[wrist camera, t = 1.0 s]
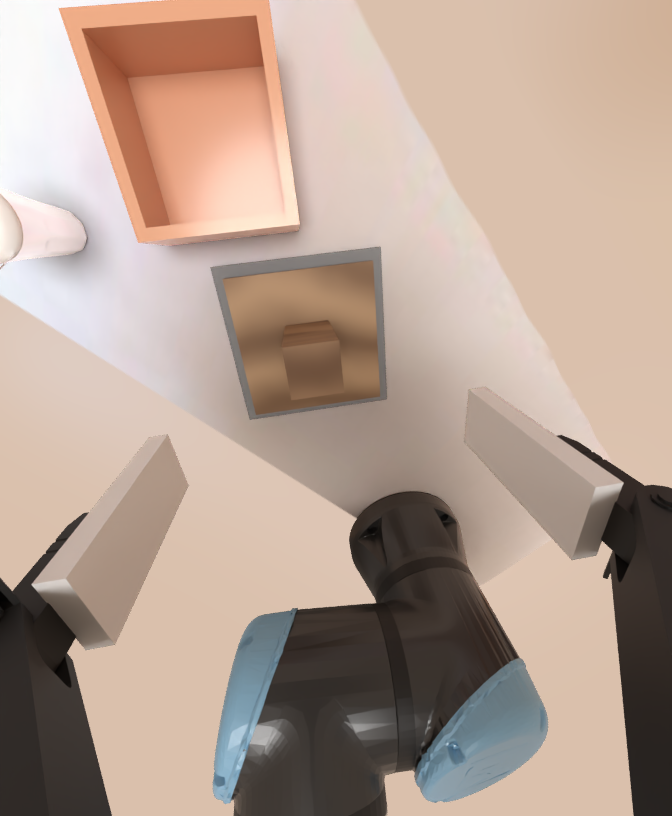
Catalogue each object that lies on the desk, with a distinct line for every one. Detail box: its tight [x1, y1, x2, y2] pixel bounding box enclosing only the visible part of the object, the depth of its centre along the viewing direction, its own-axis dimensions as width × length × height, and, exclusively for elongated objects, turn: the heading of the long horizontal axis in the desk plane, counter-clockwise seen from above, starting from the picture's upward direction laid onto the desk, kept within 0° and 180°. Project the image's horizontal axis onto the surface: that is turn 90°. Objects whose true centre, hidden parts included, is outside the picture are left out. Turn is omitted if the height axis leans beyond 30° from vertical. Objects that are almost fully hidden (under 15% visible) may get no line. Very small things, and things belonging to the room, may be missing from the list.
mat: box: [211, 247, 387, 420], centre depth 31 cm, size 15×15×1 cm
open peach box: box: [59, 0, 300, 246], centre depth 22 cm, size 11×11×6 cm
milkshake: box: [0, 187, 87, 269], centre depth 21 cm, size 4×5×10 cm
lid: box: [222, 260, 380, 415], centre depth 27 cm, size 13×13×9 cm
